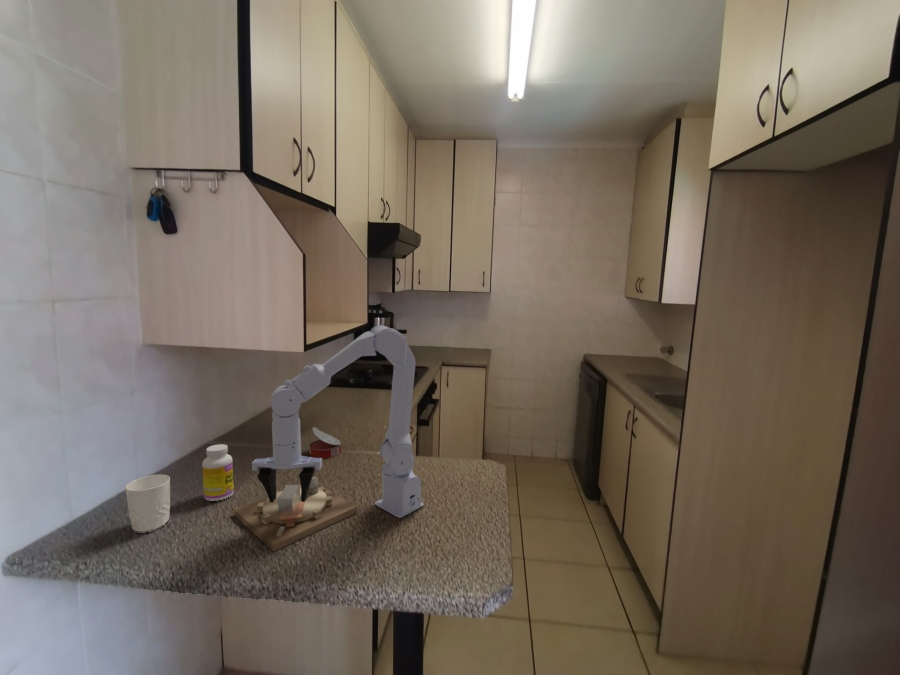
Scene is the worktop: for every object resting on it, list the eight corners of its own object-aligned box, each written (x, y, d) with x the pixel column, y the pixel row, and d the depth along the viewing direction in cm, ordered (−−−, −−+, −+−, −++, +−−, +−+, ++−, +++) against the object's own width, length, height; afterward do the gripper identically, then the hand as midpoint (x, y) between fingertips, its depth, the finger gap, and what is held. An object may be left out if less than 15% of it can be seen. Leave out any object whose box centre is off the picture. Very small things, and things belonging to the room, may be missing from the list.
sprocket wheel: (329, 522, 90) (329, 500, 90) (248, 530, 87) (247, 508, 86) (334, 487, 106) (333, 469, 106) (265, 493, 103) (265, 474, 102)
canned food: (320, 461, 138) (326, 431, 142) (345, 462, 135) (350, 432, 138) (297, 456, 129) (304, 424, 132) (323, 458, 125) (329, 425, 129)
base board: (356, 512, 98) (356, 504, 97) (273, 551, 83) (273, 541, 82) (312, 485, 111) (312, 478, 111) (234, 515, 96) (233, 506, 96)
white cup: (179, 514, 96) (176, 473, 95) (161, 533, 88) (158, 489, 87) (141, 517, 95) (138, 475, 94) (120, 537, 87) (116, 492, 86)
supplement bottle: (228, 502, 102) (226, 451, 100) (199, 504, 101) (196, 453, 99) (237, 489, 108) (235, 442, 107) (210, 491, 107) (208, 443, 106)
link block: (287, 500, 95) (286, 485, 94) (300, 500, 95) (299, 484, 95) (278, 515, 90) (277, 498, 89) (292, 515, 90) (291, 498, 89)
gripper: (325, 434, 95) (326, 490, 96) (260, 434, 94) (262, 491, 95) (316, 445, 88) (318, 506, 89) (246, 446, 87) (249, 507, 88)
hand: (288, 500), depth 92 cm, fingers open, 6 cm apart
